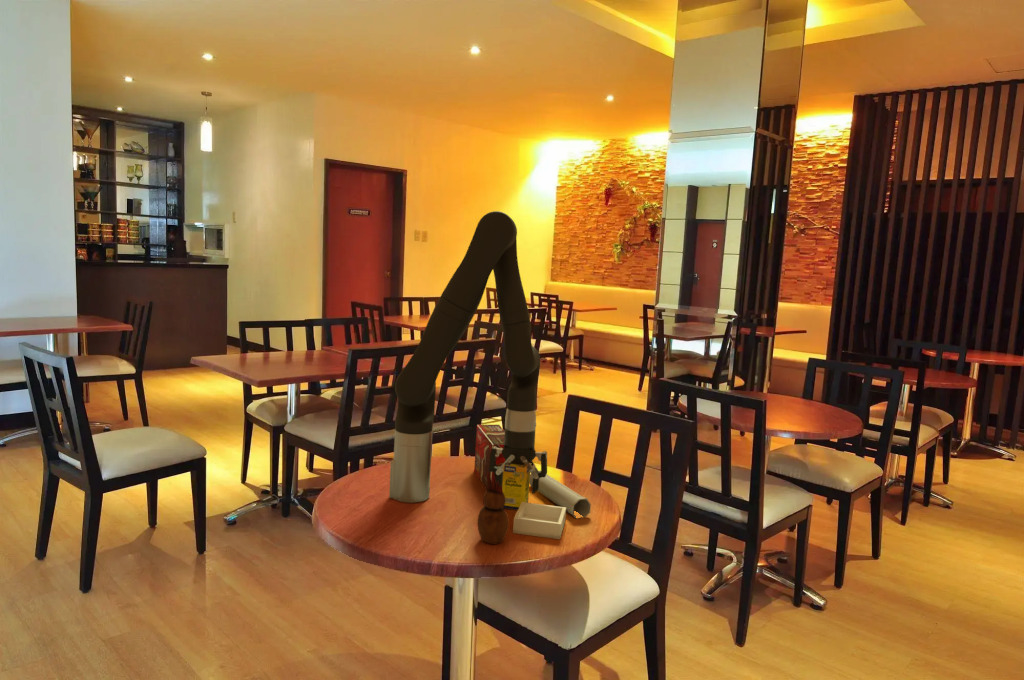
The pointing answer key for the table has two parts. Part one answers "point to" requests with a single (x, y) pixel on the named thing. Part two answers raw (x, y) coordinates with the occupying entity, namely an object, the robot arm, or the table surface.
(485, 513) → the wooden figurine
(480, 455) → the ice cream box
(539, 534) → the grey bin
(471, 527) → the table surface
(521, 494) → the supplement box
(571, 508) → the tube
